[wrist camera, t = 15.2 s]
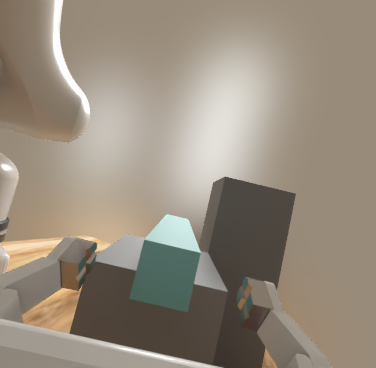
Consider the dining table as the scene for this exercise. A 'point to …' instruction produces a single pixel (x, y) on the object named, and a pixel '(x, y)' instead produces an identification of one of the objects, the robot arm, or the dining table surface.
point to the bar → (167, 265)
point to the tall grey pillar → (195, 283)
